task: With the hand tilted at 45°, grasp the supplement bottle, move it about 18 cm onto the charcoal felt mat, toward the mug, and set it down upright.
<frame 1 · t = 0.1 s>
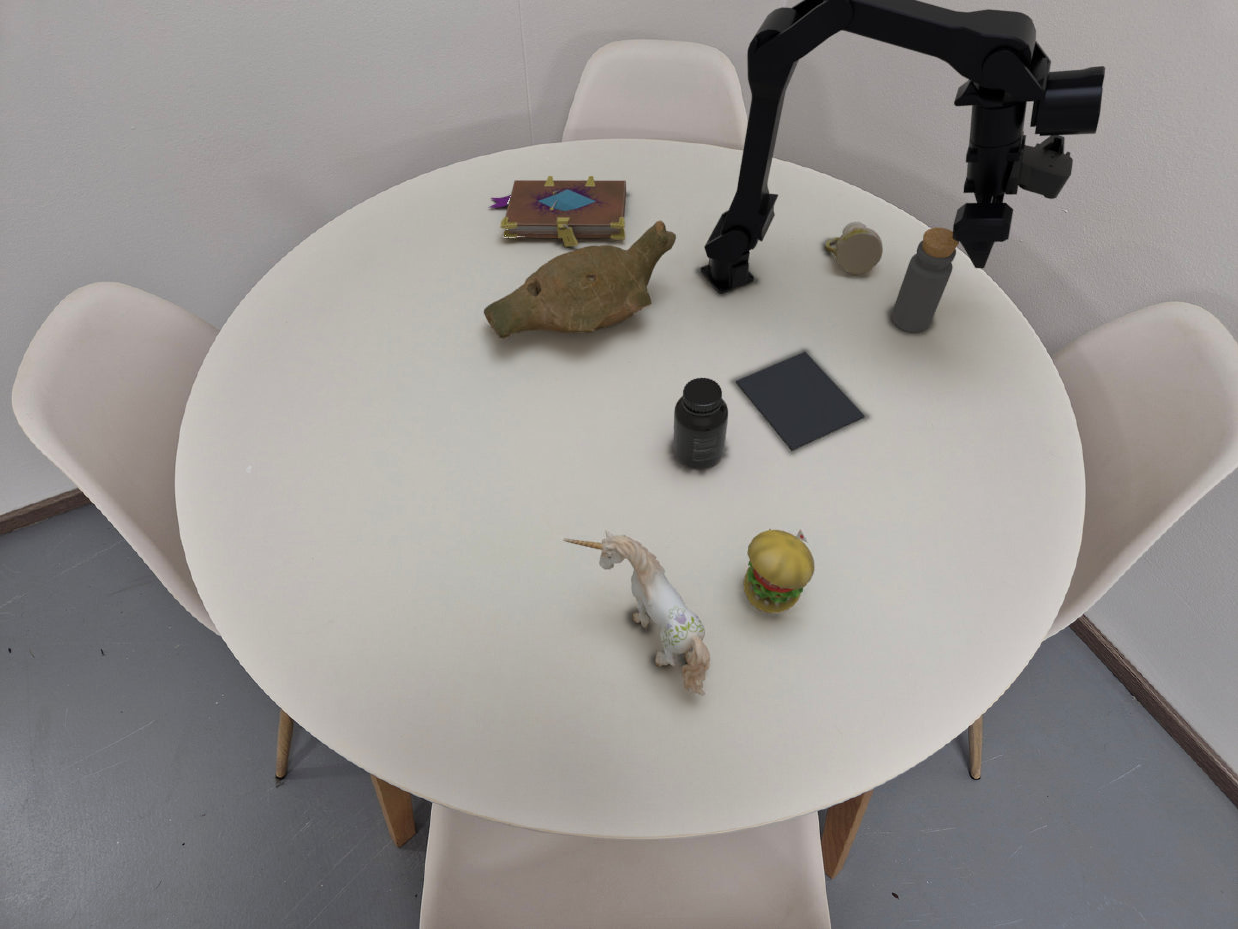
hand: (984, 246, 102), 15 cm above the table, tool pointing down, fingers open, 9 cm apart
bottle: (910, 320, 116), on the table
book: (556, 220, 133), on the table
unicorn figurine: (637, 641, 87), on the table
hamburger: (771, 592, 91), on the table
sculpture: (584, 316, 119), on the table
mug: (850, 258, 125), on the table
mat: (798, 399, 108), on the table
supplement bottle: (698, 451, 103), on the table
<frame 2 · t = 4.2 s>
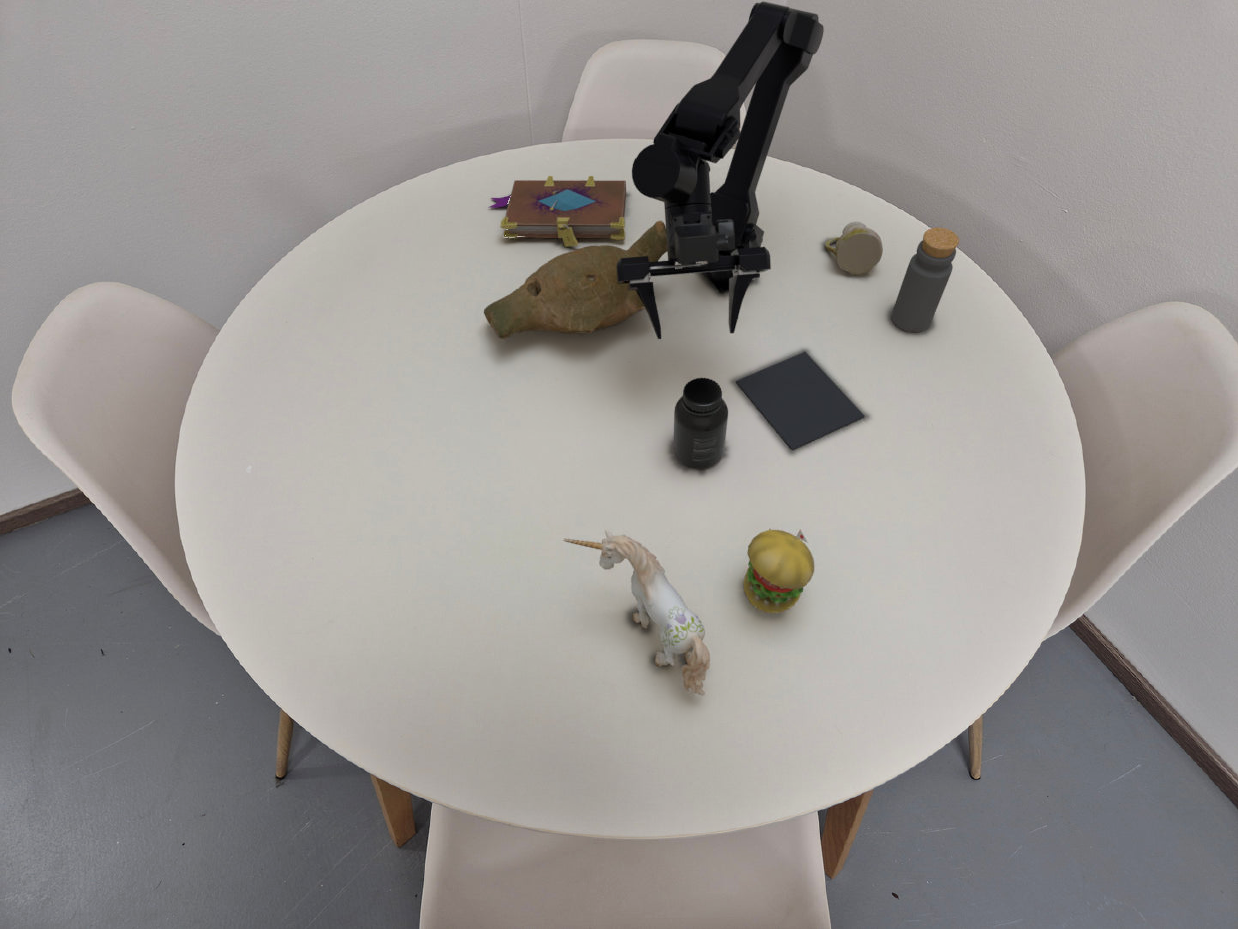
hand: (695, 336, 97), 13 cm above the table, tool tilted 45°, fingers open, 9 cm apart
nothing on the table moved.
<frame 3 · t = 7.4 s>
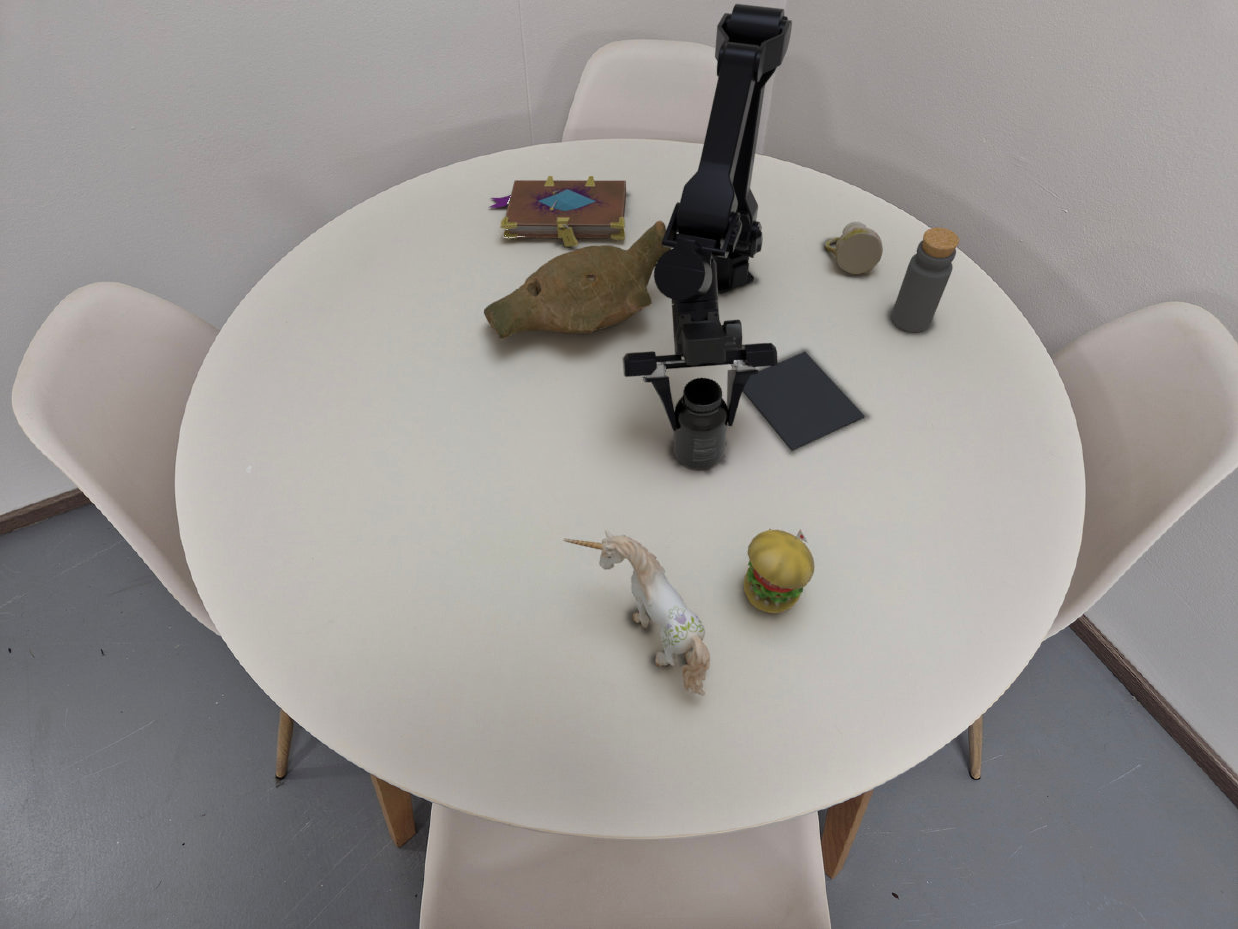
hand: (702, 428, 97), 7 cm above the table, tool tilted 45°, fingers closed on supplement bottle, 7 cm apart
supplement bottle: (698, 451, 103), on the table, touching gripper
everything else where it was.
when the fingers open (7 cm above the table, at t = 14.2 s): supplement bottle stays where it is, resting on mat.
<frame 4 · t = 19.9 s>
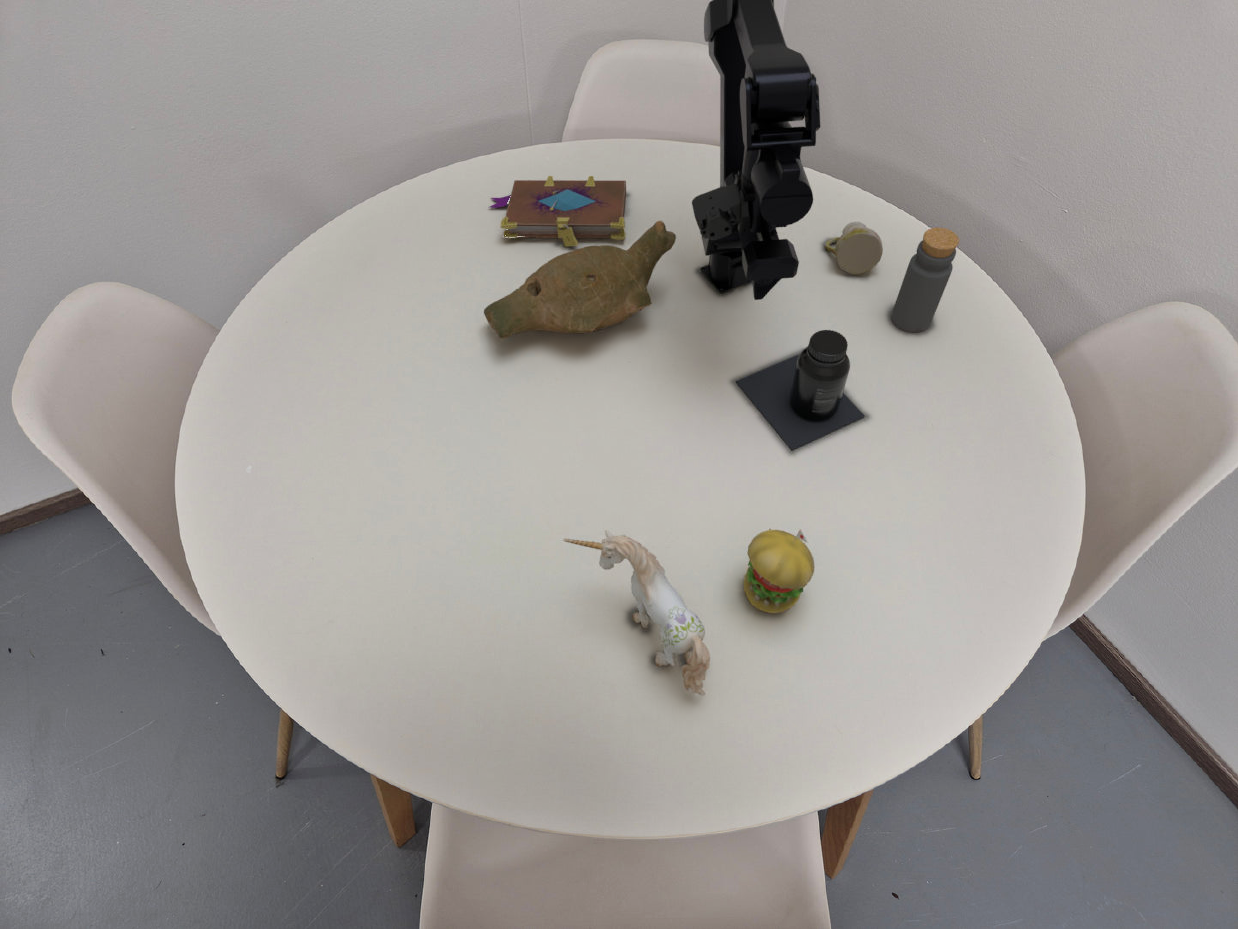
hand: (751, 275, 104), 13 cm above the table, tool pointing down, fingers open, 9 cm apart
supplement bottle: (812, 404, 107), resting on mat
everything else where it was.
at the end: supplement bottle inside the target area on the mat (2.2 cm from its centre), point 0.1 cm above the mat's base; supplement bottle tilted 0°; supplement bottle 33.1 cm from the mug (horizontally) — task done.
